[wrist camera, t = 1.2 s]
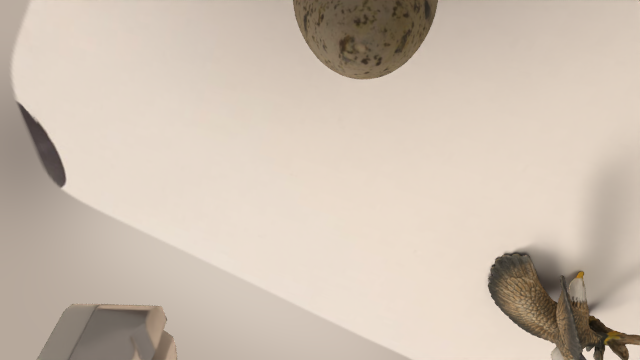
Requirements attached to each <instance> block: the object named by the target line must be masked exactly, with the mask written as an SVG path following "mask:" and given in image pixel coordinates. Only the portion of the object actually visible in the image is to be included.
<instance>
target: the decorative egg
mask: <svg viewBox="0 0 640 360" xmlns="http://www.w3.org/2000/svg"><path fill="white" fill-rule="evenodd" d="M437 3H438V0H293V5H294V11H295V16H296V20H297V23H298V26H299V28H300V31H301V33H302V35H303V37H304V39H305V41H306V43H307V44H308V46H309V47H310V49H311V50H312V52H313V53H314V54H315V55H316V57H317V58H318V59H319V60H320V61H321V62H322V63H323V64H324V65H326V66H327V67H328V68H330V69H331V70H333V71H335V72H337V73H338V74H340V75H343V76H346V77H350V78H354V79H372V78H378V77H381V76H384V75H387V74H389V73H391V72H393V71H395V70H396V69H398V68H399V67H401V66H402V65H403V64H405V63H406V62H407V61H408V60H409V59H410V58H411V57H412V56H413V54H414V53H415V52H416V51H417V50H418V48H419V47H420V45H421V44H422V42H423V41H424V39H425V37H426V36H427V34H428V32H429V30H430V27H431V25H432V22H433V19H434V16H435V12H436V8H437Z"/></svg>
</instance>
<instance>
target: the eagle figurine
mask: <svg viewBox="0 0 640 360" xmlns="http://www.w3.org/2000/svg"><path fill="white" fill-rule="evenodd" d="M491 273H492V275H493V276H489V278H488V279H489V281H490V283H489V284H488V287H489V291H490V293H491V297H492V299H493V300H494V301H495V304H496V305H497V306H498V307H499V308H500V309H501V310H502V311H503V312H504V314H506V315H507V316H509V318H510V319H511V320H512V321H513V322H514V323H515V324H517V325H518V326H519V327H521V328H522V329H524V330H525V331H526V332H529V333H531V334H532V335H534V336H537V337H539V338H543V339H544V340H549V341H550V342H552V343H555V344H556V346H557V347H556V348H555V349H554V350H553V351H552V353H551V358H552V360H586V359H585V357H584V356H583V355H582V351H583V349H584V348H585V347H586V350H587V351H590V350H591V349H592V348H593V347H594V346H595V352H594V355H593V357H594V359H595V360H603V354H604V351H605V345H609V347H610V348H611V349H612V351H613V352H614V353H615V354H616V355H618V356H619V357H620V358H621V359H622V360H628V358H629V353H628V350H627V348H626V346H625V344H634V345H640V335H627V334H625V333H620V332H617V331H614V330H612V329H610V328H608V327H606V326H605V325H604V324H603V323H601V322H600V320H599V319H596V318H595V317H594V316H589V309H588V305H587V300H586V292H585V285H584V281H583V275H584V272H582V271H581V272H579V273H578V275H577V277H576V278H575V279H573V280H572V281H571V283H570V289H569V294H568V292H567V288H566V281H565V278H564V276H563V275H561V278H560V282H561V287H562V292H561V295H560V298H559V300H558V303H557V302H555V301H554V300H552V299H551V298H550V296H549V295H548V294H547V292H546V291H545V289H544V288H543V287H542V285H541V284H540V282H539V280H538V276H537V273H536V270H535V268H534V265H533V263H532V261H531V259H530V257H529V256H528V255H524V256H521V255H519V254H513V255H512V256H510V255H503V256H502V258H498V259H496V261H495V266H492V268H491Z"/></svg>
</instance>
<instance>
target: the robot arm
mask: <svg viewBox="0 0 640 360" xmlns="http://www.w3.org/2000/svg"><path fill="white" fill-rule="evenodd" d="M166 321H167V318H166V316H165V313H164V311H163V308H162V307H161V306H146V305H114V304H72V305H71V306H69V307H68V308H67V309H66V310H65V311H64V312H63V314H62V316H61V317H60V319H59V321H58V323H57V324H56V326H55V328H54V330H53V332H52V333H51V335H50V337H49V339H48V341H47V342H46V344H45V346H44V348H43V349H42V351H41V353H40V355H39V356H38V358H37V360H177V352H176V345H175V342H174V339H173V337H172V336H171V335H170V334H168V333H167V332H166V331H164V327H165V324H166Z"/></svg>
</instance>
